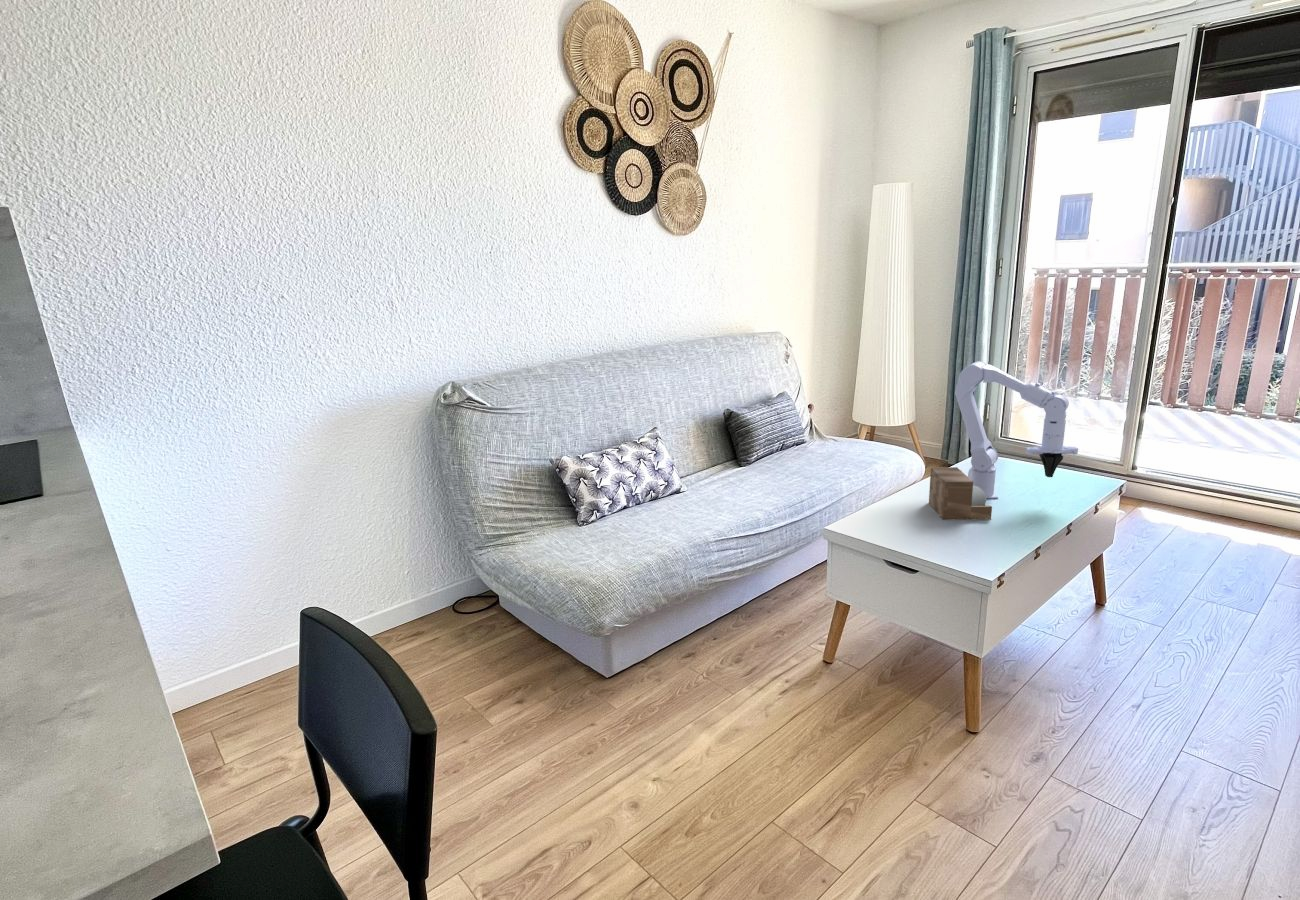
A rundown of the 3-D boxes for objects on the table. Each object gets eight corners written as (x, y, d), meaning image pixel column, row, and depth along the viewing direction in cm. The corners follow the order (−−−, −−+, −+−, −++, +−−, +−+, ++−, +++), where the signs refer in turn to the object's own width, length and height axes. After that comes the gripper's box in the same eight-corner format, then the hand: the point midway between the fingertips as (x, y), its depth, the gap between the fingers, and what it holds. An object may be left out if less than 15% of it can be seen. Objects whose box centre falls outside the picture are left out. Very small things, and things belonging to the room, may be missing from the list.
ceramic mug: (947, 510, 219) (949, 487, 217) (964, 505, 223) (966, 482, 221) (977, 521, 210) (980, 497, 208) (994, 515, 214) (997, 491, 212)
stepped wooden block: (928, 503, 227) (930, 467, 224) (973, 502, 225) (976, 467, 222) (942, 519, 212) (945, 481, 209) (990, 519, 211) (994, 481, 208)
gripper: (1034, 437, 212) (1029, 480, 215) (1084, 436, 210) (1079, 479, 214) (1024, 432, 218) (1020, 473, 222) (1073, 431, 217) (1068, 473, 220)
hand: (1048, 476), depth 218 cm, fingers closed
